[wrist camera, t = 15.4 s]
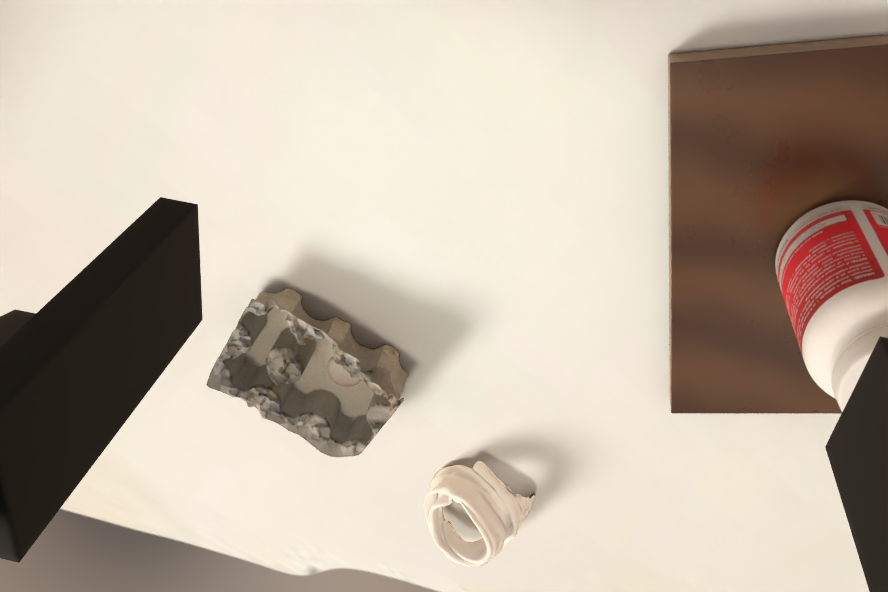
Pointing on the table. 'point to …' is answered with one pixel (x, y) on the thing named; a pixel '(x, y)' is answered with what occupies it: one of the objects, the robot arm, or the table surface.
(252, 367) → the egg carton
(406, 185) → the table surface
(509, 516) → the cream folded ring
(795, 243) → the pill bottle
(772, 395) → the walnut board
